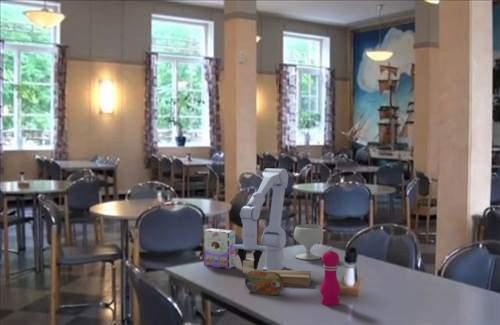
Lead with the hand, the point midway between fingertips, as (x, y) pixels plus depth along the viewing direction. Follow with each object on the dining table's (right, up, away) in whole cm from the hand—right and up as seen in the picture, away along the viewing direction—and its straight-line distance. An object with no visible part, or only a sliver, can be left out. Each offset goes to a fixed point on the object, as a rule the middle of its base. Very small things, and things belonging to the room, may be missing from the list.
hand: (249, 267), depth 233 cm
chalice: (+28, -2, +38) cm, 47 cm away
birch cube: (0, -2, 0) cm, 2 cm away
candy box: (-14, -3, +21) cm, 25 cm away
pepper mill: (+28, -7, -33) cm, 44 cm away
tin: (+5, -6, -20) cm, 21 cm away
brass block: (+15, -5, -5) cm, 17 cm away
